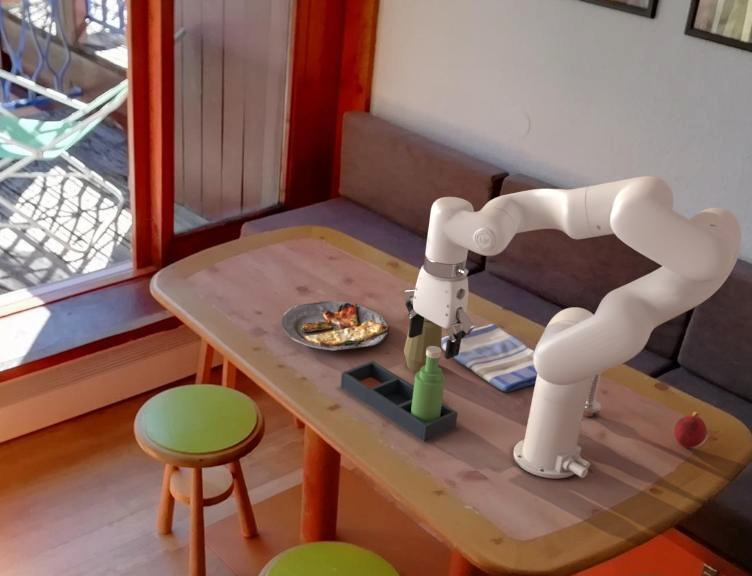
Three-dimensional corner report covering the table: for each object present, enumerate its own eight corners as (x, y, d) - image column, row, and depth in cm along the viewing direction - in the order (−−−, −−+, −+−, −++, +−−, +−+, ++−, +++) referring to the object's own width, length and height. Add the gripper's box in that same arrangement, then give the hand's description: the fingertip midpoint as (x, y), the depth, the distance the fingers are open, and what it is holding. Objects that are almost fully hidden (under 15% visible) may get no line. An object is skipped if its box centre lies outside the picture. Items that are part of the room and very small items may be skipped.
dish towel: (493, 330, 247) (495, 320, 245) (564, 377, 229) (566, 366, 228) (434, 346, 240) (435, 335, 238) (502, 396, 222) (504, 384, 221)
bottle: (444, 426, 211) (455, 351, 202) (424, 435, 208) (434, 360, 199) (424, 413, 215) (433, 339, 206) (403, 422, 212) (412, 347, 203)
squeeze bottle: (438, 379, 228) (448, 304, 218) (400, 374, 229) (409, 300, 219) (439, 360, 234) (449, 287, 225) (403, 356, 236) (411, 283, 226)
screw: (588, 422, 214) (569, 411, 217) (604, 415, 216) (585, 404, 220) (601, 367, 207) (581, 357, 210) (617, 360, 210) (597, 350, 213)
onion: (697, 459, 204) (708, 424, 199) (667, 449, 206) (676, 415, 202) (704, 444, 208) (714, 410, 204) (673, 435, 210) (683, 401, 206)
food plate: (363, 303, 257) (364, 290, 256) (405, 348, 239) (407, 334, 237) (267, 316, 251) (267, 303, 249) (302, 364, 232) (303, 350, 230)
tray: (455, 429, 211) (457, 412, 209) (423, 443, 206) (426, 426, 204) (371, 376, 228) (372, 360, 226) (340, 388, 223) (341, 372, 221)
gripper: (494, 277, 189) (480, 359, 198) (425, 244, 201) (415, 323, 210) (465, 287, 185) (452, 371, 194) (396, 253, 197) (387, 333, 206)
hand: (432, 346), depth 202 cm, fingers open, 9 cm apart
